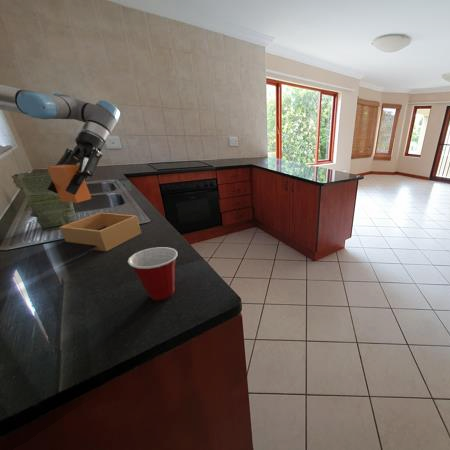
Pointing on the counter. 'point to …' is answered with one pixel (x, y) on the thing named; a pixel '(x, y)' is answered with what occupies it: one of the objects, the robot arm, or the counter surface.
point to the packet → (62, 179)
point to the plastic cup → (156, 270)
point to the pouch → (44, 200)
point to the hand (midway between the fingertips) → (61, 191)
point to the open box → (106, 238)
